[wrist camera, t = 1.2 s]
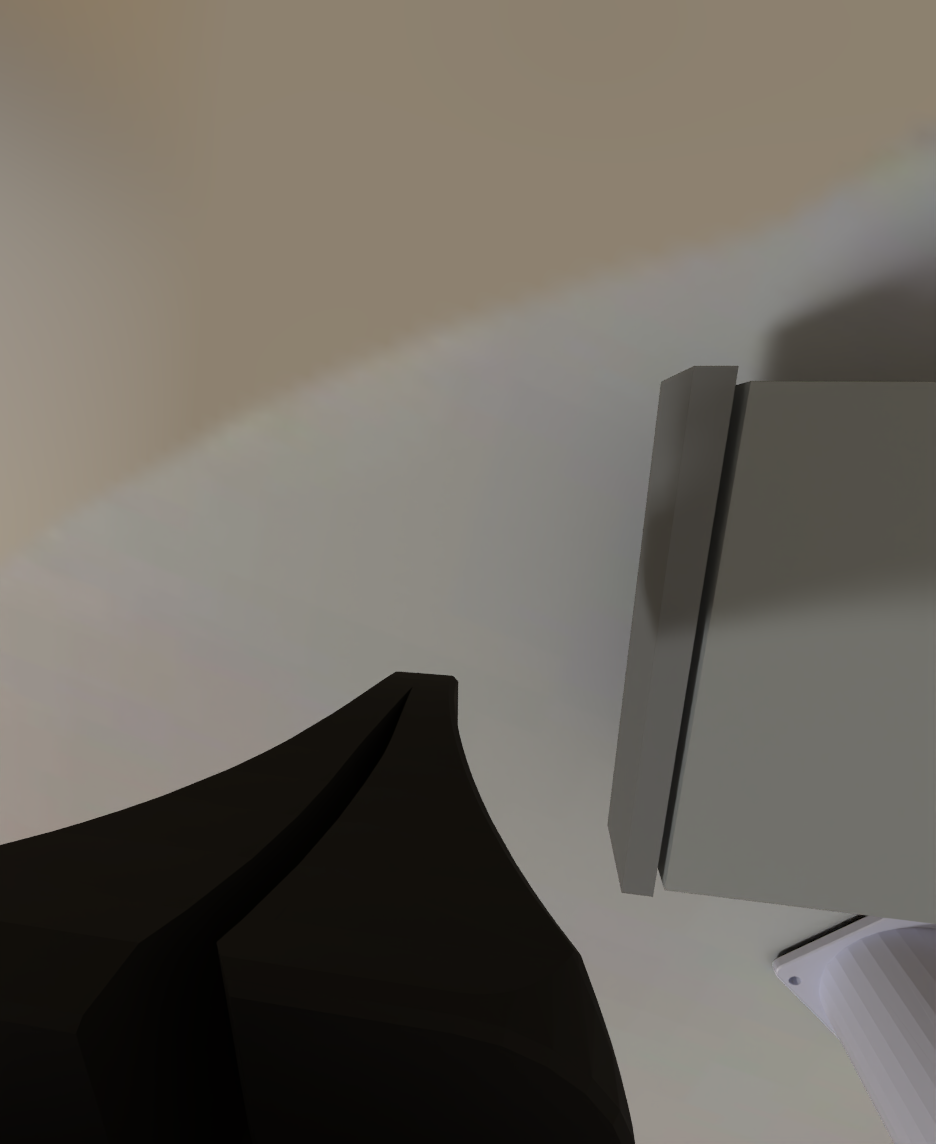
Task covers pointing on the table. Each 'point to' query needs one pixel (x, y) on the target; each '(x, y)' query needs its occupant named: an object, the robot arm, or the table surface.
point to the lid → (784, 649)
